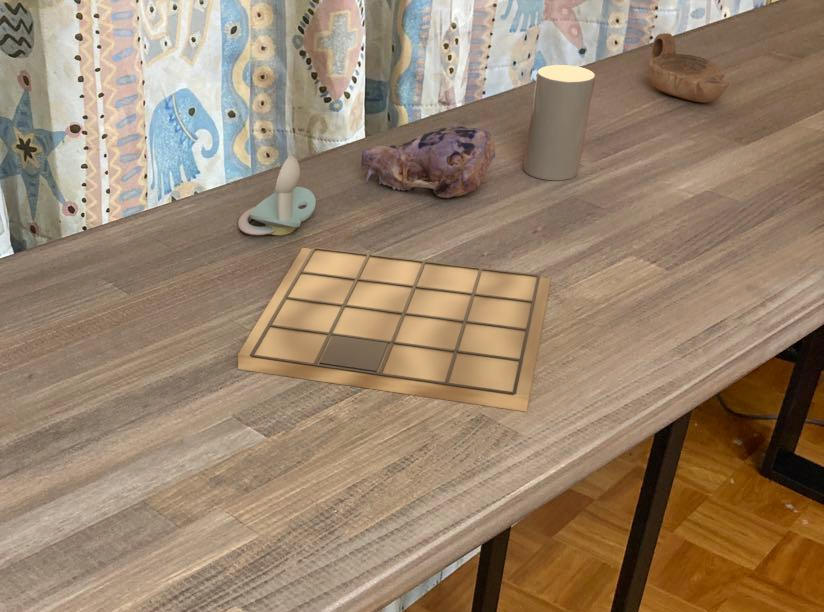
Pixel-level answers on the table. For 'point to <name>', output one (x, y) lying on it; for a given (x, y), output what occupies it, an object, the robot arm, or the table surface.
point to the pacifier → (281, 205)
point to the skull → (434, 161)
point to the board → (403, 327)
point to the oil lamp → (684, 73)
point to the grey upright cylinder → (558, 121)
